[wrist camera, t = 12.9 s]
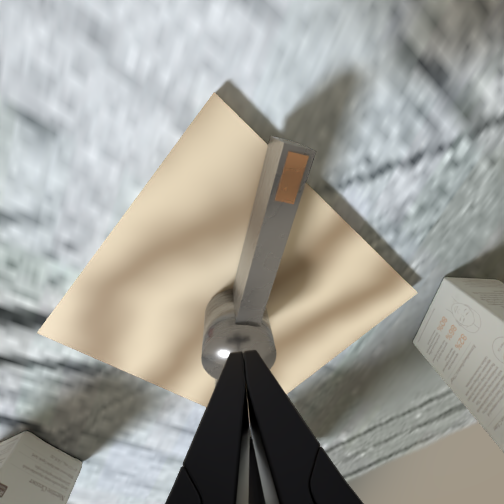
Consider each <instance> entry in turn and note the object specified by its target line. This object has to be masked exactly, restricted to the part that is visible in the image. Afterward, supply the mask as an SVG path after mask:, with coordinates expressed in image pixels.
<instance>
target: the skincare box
mask: <svg viewBox="0 0 504 504" xmlns="http://www.w3.org/2000/svg"><path fill="white" fill-rule="evenodd" d="M81 468H82V462H81V461H80V460H78V459H76V458H73V457H71V456H70V455H68V454H66V453H64V452H62V451H60V450H59V449H57V448H55V447H53V446H51V445H49V444H47V443H46V442H44V441H43V440H41V439H40V438H38V437H37V436H35V435H34V434H32V433H31V432H28V431H24V432H22V433H20V434H18V435H15V436H13V437H11V438H9V439H7V440H5V441H3V442H1V443H0V504H66V503H67V501H68V498H69V496H70V494H71V492H72V489H73V487H74V485H75V482H76V480H77V478H78V475H79V473H80V471H81Z"/></svg>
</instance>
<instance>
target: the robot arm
mask: <svg viewBox="0 0 504 504" xmlns="http://www.w3.org/2000/svg"><path fill="white" fill-rule="evenodd" d="M243 356H244V358H243ZM244 367H245V368H244ZM245 378H246V379H245ZM246 389H247V390H246ZM247 400H248V402H247ZM248 411H249V413H248ZM249 421H250V426H249ZM250 429H251V434H252V439H251V438H250ZM165 504H363V502H362V501H361V500H360V499H359V497H358V496H357V495H356V493H355V492H354V491H353V490H352V488H351V487H350V486H349V485H348V483H347V482H346V481H345V479H344V478H343V476H342V475H341V474H340V472H339V471H338V469H337V468H336V467H335V465H334V464H333V462H332V461H331V459H330V458H329V456H328V455H327V454H326V452H325V451H324V449H323V448H322V447H320V443H319V442H318V440H317V439H316V437H315V436H314V435H313V433H312V432H311V430H310V429H309V427H308V426H307V424H306V423H305V421H304V420H303V418H302V417H301V415H300V414H299V412H298V411H297V409H296V408H295V406H294V405H293V403H292V402H291V400H290V399H289V397H288V396H287V395H286V393H285V392H284V390H283V389H282V387H281V386H280V384H279V383H278V381H277V380H276V378H275V377H274V375H273V374H272V372H271V371H270V369H269V368H268V366H267V365H266V363H265V362H264V360H263V359H262V357H261V356H260V354H259V353H258V352H257V351H256V350H247V351H244V352H242V351H238V352H231V353H230V354H229V355H228V358H227V360H226V362H225V365H224V367H223V370H222V372H221V374H220V377H219V379H218V381H217V384H216V386H215V389H214V391H213V393H212V396H211V398H210V400H209V403H208V405H207V407H206V410H205V412H204V415H203V417H202V419H201V422H200V424H199V426H198V429H197V431H196V433H195V436H194V438H193V441H192V443H191V445H190V448H189V450H188V452H187V455H186V457H185V459H184V462H183V466H182V467H181V469H180V471H179V473H178V476H177V478H176V480H175V483H174V485H173V487H172V489H171V492H170V494H169V496H168V498H167V501H166V503H165Z"/></svg>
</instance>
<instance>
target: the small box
mask: <svg viewBox="0 0 504 504" xmlns="http://www.w3.org/2000/svg"><path fill="white" fill-rule="evenodd" d="M413 344H414V345H415V346H416V348H417V349H418V350H419V351H420V352H421V354H422V355H423V356H424V357H425V358H426V360H427V361H428V362H429V363H430V364H431V366H432V367H433V368H434V369H435V370H436V372H437V373H438V374H439V375H440V376H441V378H442V379H443V380H444V381H445V382H446V384H447V385H448V386H449V387H450V389H451V390H452V391H453V392H454V393H455V395H456V396H457V397H458V398H459V399H460V401H461V402H462V403H463V404H464V405H465V407H466V408H467V409H468V410H469V412H470V413H471V414H472V415H473V416H474V418H475V419H476V420H477V421H478V422H479V424H480V425H481V426H482V427H483V428H484V430H485V431H486V432H487V433H488V434H489V436H490V437H491V438H492V439H493V440H494V442H495V443H496V444H497V445H498V446H499V448H500V449H501V450H502V451H503V452H504V283H502V282H501V281H499V280H497V279H479V278H455V277H445V278H444V279H443V281H442V283H441V285H440V287H439V289H438V291H437V293H436V295H435V297H434V299H433V301H432V303H431V305H430V307H429V309H428V311H427V313H426V316H425V318H424V320H423V322H422V324H421V326H420V328H419V330H418V332H417V334H416V336H415V338H414V340H413Z"/></svg>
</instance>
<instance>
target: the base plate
mask: <svg viewBox="0 0 504 504" xmlns="http://www.w3.org/2000/svg"><path fill="white" fill-rule="evenodd" d="M267 147H268V145H267V144H266V143H265V142H264V141H263V140H262V139H261V138H260V137H259V136H258V135H257V134H256V133H255V132H254V131H253V130H252V129H251V128H250V127H249V126H248V125H247V124H246V123H245V122H244V121H243V120H242V119H241V118H240V117H239V116H238V115H237V114H236V113H235V112H234V111H233V110H232V109H231V108H230V107H229V106H228V105H227V104H226V103H225V102H224V101H223V100H222V99H221V98H220V97H219V96H218V95H217V94H216V93H215V92H214V93H213V94H212V96H211V97H210V99H209V100H208V101H207V103H206V104H205V105H204V107H203V108H202V109H201V111H200V112H199V113H198V115H197V116H196V118H195V119H194V120H193V122H192V123H191V124H190V126H189V127H188V128H187V130H186V131H185V132H184V134H183V135H182V137H181V138H180V139H179V141H178V142H177V143H176V145H175V146H174V147H173V149H172V150H171V152H170V153H169V154H168V156H167V157H166V158H165V160H164V161H163V162H162V164H161V165H160V166H159V168H158V169H157V171H156V172H155V173H154V175H153V176H152V177H151V179H150V180H149V181H148V183H147V184H146V185H145V187H144V188H143V190H142V191H141V192H140V194H139V195H138V196H137V198H136V199H135V200H134V202H133V203H132V204H131V206H130V207H129V209H128V210H127V211H126V213H125V214H124V215H123V217H122V218H121V219H120V221H119V222H118V223H117V225H116V226H115V228H114V229H113V230H112V232H111V233H110V234H109V236H108V237H107V238H106V240H105V241H104V243H103V244H102V245H101V247H100V248H99V249H98V251H97V252H96V253H95V255H94V256H93V257H92V259H91V260H90V262H89V263H88V264H87V266H86V267H85V268H84V270H83V271H82V272H81V274H80V275H79V276H78V278H77V279H76V281H75V282H74V283H73V285H72V286H71V287H70V289H69V290H68V291H67V293H66V294H65V295H64V297H63V298H62V300H61V301H60V302H59V304H58V305H57V306H56V308H55V309H54V310H53V312H52V313H51V314H50V316H49V317H48V319H47V320H46V321H45V323H44V324H43V325H42V327H41V328H40V329H39V331H38V332H37V333H38V334H40V335H43V336H45V337H47V338H50V339H52V340H54V341H56V342H59V343H61V344H63V345H66V346H68V347H70V348H72V349H75V350H77V351H79V352H82V353H84V354H86V355H88V356H91V357H93V358H95V359H98V360H100V361H102V362H104V363H107V364H109V365H111V366H114V367H116V368H118V369H121V370H123V371H125V372H127V373H130V374H132V375H134V376H137V377H139V378H141V379H143V380H146V381H148V382H150V383H153V384H155V385H157V386H159V387H162V388H164V389H166V390H169V391H171V392H173V393H175V394H178V395H180V396H182V397H185V398H187V399H189V400H192V401H194V402H196V403H198V404H201V405H203V406H205V407H207V405H208V403H209V400H210V398H211V396H212V393H213V391H214V389H215V378H213V377H211V376H210V375H209V374H208V373H207V372H206V371H205V369H204V368H203V365H202V361H201V356H202V343H203V330H204V317H205V310H206V307H207V305H208V303H209V301H210V300H211V299H212V298H213V297H214V296H216V295H217V294H219V293H221V292H223V291H226V290H230V289H233V285H234V281H235V277H236V273H237V268H238V264H239V260H240V256H241V252H242V248H243V244H244V240H245V236H246V232H247V228H248V224H249V220H250V216H251V212H252V208H253V204H254V200H255V196H256V192H257V188H258V184H259V180H260V176H261V172H262V168H263V164H264V160H265V156H266V152H267ZM416 294H417V292H416V291H415V290H414V289H413V288H412V287H411V286H410V285H409V284H408V283H407V282H406V281H405V280H404V279H403V278H402V277H401V276H400V275H399V274H398V273H397V272H396V271H395V270H394V269H393V268H392V267H391V266H390V265H389V264H388V263H387V262H386V261H385V260H384V259H383V258H382V257H381V256H380V255H379V254H378V253H377V252H376V251H375V250H374V249H373V248H372V247H371V246H370V245H369V244H368V243H367V242H366V241H365V240H364V239H363V238H362V237H361V236H360V235H359V234H358V233H357V232H356V231H355V230H354V229H353V228H352V227H351V226H350V225H349V224H348V223H347V222H346V221H344V220H343V219H342V218H341V217H340V216H339V215H338V214H337V213H336V212H335V211H334V210H333V209H332V208H331V207H330V206H329V205H328V204H327V203H326V202H325V201H324V200H323V199H322V198H321V197H320V196H319V195H318V194H317V193H316V192H315V191H314V190H313V189H312V188H311V187H310V186H309V185H308V184H307V183H306V184H305V187H304V190H303V193H302V196H301V199H300V202H299V206H298V209H297V212H296V215H295V218H294V221H293V224H292V227H291V230H290V233H289V237H288V240H287V243H286V246H285V249H284V252H283V255H282V258H281V261H280V264H279V268H278V271H277V274H276V277H275V280H274V283H273V286H272V289H271V292H270V295H269V299H268V302H267V305H266V308H267V313H268V317H269V321H270V326H271V330H272V334H273V339H274V343H275V347H276V354H277V355H276V360H275V363H274V365H273V366H272V368H271V369H270V371H271V372H272V374H273V375H274V377H275V378H276V380H277V381H278V383H279V384H280V386H281V387H282V389H283V390H284V392H285V393H286V394H288V393H289V392H290V391H291V390H293V389H294V388H295V387H297V386H298V385H299V384H301V383H302V382H303V381H304V380H306V379H307V378H308V377H310V376H311V375H312V374H313V373H315V372H316V371H317V370H319V369H320V368H321V367H323V366H324V365H325V364H326V363H328V362H329V361H330V360H332V359H333V358H334V357H335V356H337V355H338V354H339V353H341V352H342V351H343V350H345V349H346V348H347V347H348V346H350V345H351V344H352V343H354V342H355V341H356V340H358V339H359V338H360V337H361V336H363V335H364V334H365V333H367V332H368V331H369V330H370V329H372V328H373V327H374V326H376V325H377V324H378V323H380V322H381V321H382V320H383V319H385V318H386V317H387V316H389V315H390V314H391V313H392V312H394V311H395V310H396V309H398V308H399V307H400V306H402V305H403V304H404V303H405V302H407V301H408V300H409V299H411V298H412V297H413V296H414V295H416ZM246 390H247V389H246ZM247 402H248V400H247ZM248 413H249V411H248ZM249 423H250V421H249Z"/></svg>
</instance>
